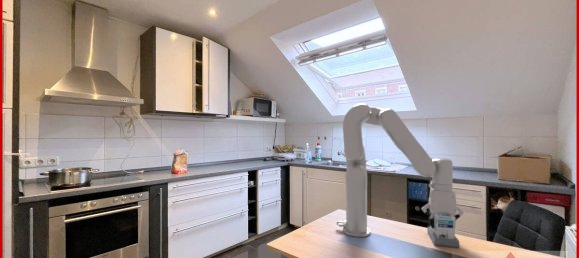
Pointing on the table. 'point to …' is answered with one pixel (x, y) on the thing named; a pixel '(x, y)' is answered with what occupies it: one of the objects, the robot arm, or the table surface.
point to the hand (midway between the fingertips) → (441, 227)
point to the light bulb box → (444, 226)
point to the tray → (442, 240)
